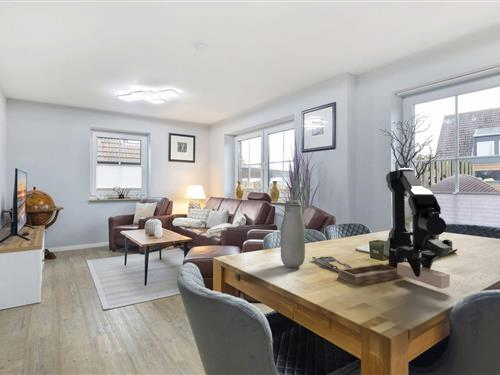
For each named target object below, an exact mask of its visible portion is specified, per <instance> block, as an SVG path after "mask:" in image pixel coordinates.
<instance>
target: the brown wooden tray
mask: <svg viewBox="0 0 500 375" xmlns="http://www.w3.org/2000/svg"><path fill="white" fill-rule="evenodd" d="M339 269H340V268H339ZM337 278H338V279H340V280H343V281H345V282H348V283H350V284H352V285H354V286H358V287H360V286H361V287H362V286H365V285H370V284H375V283H376V284H377V283H380V282H385V281H390V280H391V281H392V280H396V279H397V280H398V279H402V276H401V275H398V274H397V268H394V267H391V266H388V265H386V264H384V263H380V262H379V263H372V264H367V265H361V266H355V267H353V266H352V268H347V267H346V268H342V269H340V270H339V271H338V274H337Z"/></svg>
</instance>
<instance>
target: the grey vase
mask: <svg viewBox="0 0 500 375" xmlns="http://www.w3.org/2000/svg"><path fill="white" fill-rule="evenodd" d="M284 203H285V204H284V208H283V209H284V212H283V219H282V221H281V224H280V259H281V262H282V264H283V265H284V266H285V267H287V268H290V269H292V268H293V269H295V268H299V267H301V266H302V265H303V264H304V262H305V257H306V226H305V225H306V224H305V221H304V218H303V205H302V203H301V201H300V200H296V199H293V200H292V199H290V200H288V201H286V202H284Z"/></svg>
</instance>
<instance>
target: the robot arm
mask: <svg viewBox="0 0 500 375" xmlns="http://www.w3.org/2000/svg"><path fill="white" fill-rule="evenodd" d="M414 173H415V171H414V169H413V168H408V167H405V168H398V169H396V170H392V171H389V172H388V173H387V174H386V175H385V181H386V183H387V188H388V189H389V191H390V192H391V206H392V207H391V211H392V212H391V213H392V216H391V217H392V227H391V229H390V231H389V232H388V237H387V240H386V242H385V244H384V250H385V251H386V252H387V253H388V263H386V264H385V265H388V266H391V267H394V268H397V263H403V262H407V263H409V264H410V266H411V268H412V270H413V272H414V274H415V276H416V277H419V275H420V267H425V268H428V269H432V265H433V263H434V261H435V260H436V259H438V258H442V257H448V255H449V253H450V252H452V251H453V250H454V249H453V241H452V240H451V239H449V238H447V239H444V240H442V239H440V240H439V239H438V238H436V237H437V236H439V235H442V234H443V233H445V231H446V229H447V223H446V221H445V219H444V218H442V217H440V215H441V214H442V212H441V209H442V208H441V206H440V204H439V202H438V199H437V197H436V196H435V194H434V193H433V192H432V191H431V190H430V189H428V188H425V187H423V185H422V184H421V182H420V181H419V179H418V178H417V176H416V175H415V174H414ZM405 192H407V193H408V199H407V202H408V205H409V206H408V207H410V211H411V213H410V214H411V215H412V217H411V218H412V219H411V220H412V221H411V222H412V224H411V225H412V227H411V228H412V230H411V231H409V232H408V230H407V228H406V208H405V207H406V206H405V205H406V203H405V197H406V196H405V194H406V193H405ZM411 238H412V239H411Z"/></svg>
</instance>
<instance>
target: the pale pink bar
mask: <svg viewBox="0 0 500 375" xmlns="http://www.w3.org/2000/svg"><path fill="white" fill-rule="evenodd" d="M397 274H398V275H401V277H405V278H407V279H411V280H413V281H417V282H419V283H422V284H425V285H428V286H432V287H434V288H437V289H441V290H443V289H446V288H450V287H451V286H450V284H451V282H450V280H451V279H450V277H451V276H450V274H449V273H447V272H442V271H438V270H435V269H432V268H430V269H428V268H425V267H422V266H421V267H420V275H419V277H416V276H415V274H414V272H413V270H412V268H411V266H410V264H409V262H408V261H406V262H403V263H397Z"/></svg>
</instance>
